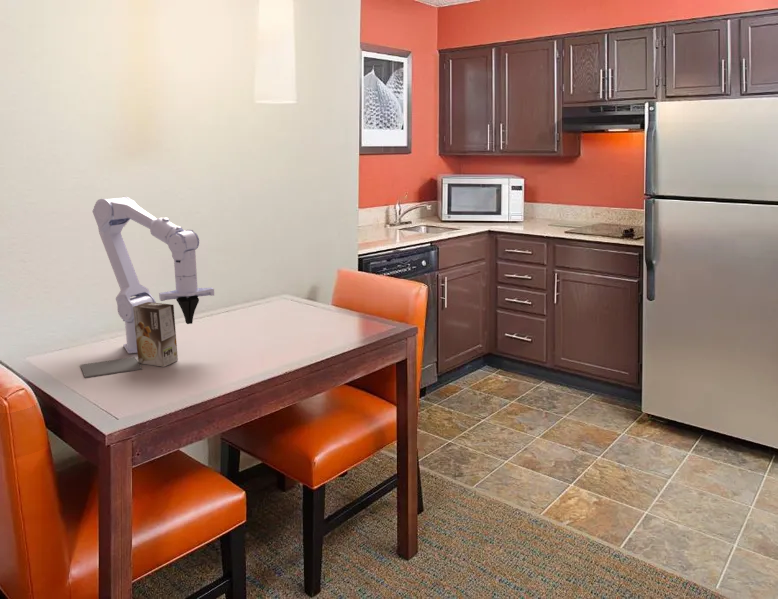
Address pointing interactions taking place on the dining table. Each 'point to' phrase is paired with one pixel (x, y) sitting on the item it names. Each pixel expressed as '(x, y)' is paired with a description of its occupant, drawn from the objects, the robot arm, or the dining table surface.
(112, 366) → the grey flat slab
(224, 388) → the dining table surface
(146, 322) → the coffee box
